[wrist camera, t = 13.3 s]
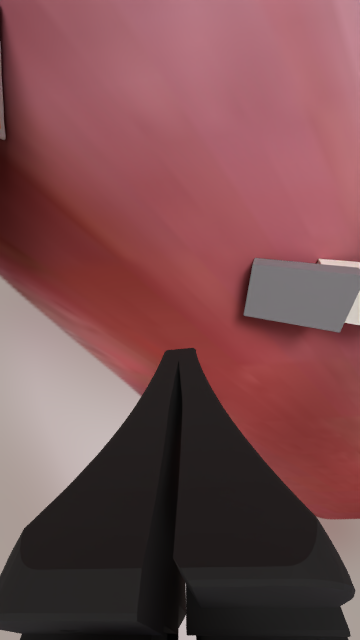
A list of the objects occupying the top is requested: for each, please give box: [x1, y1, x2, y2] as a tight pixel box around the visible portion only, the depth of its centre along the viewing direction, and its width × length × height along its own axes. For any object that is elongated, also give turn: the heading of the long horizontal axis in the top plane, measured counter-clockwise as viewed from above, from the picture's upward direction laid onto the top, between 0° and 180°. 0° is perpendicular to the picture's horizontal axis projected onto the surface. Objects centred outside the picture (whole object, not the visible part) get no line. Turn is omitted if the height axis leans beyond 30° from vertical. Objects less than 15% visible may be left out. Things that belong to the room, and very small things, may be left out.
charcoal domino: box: [244, 258, 360, 333], centre depth 17 cm, size 2×4×7 cm
